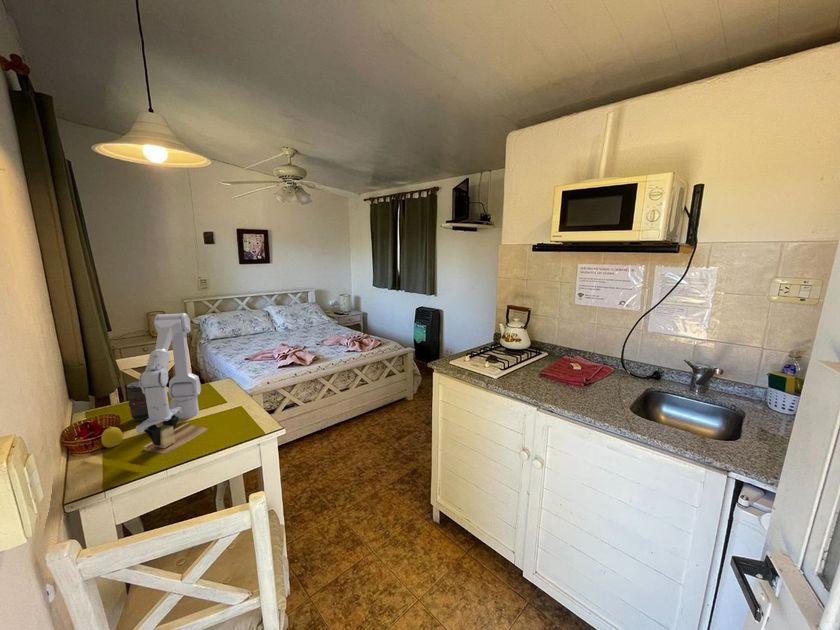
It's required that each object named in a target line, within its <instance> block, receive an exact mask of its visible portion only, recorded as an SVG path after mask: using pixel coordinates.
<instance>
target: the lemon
mask: <svg viewBox="0 0 840 630" xmlns="http://www.w3.org/2000/svg"><path fill="white" fill-rule="evenodd" d="M123 438H124V435H123V432H122V430H121V429H120V428H119V427H116V426H109V427H107V428H106V429H105V430H104V431H103V432H102V434H101V440H100V441H101V444H102V445H103V446H104V447H105V448H114V447H117V446H119V445H120V444H121V443H122V442H123V440H124V439H123Z"/></svg>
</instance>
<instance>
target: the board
mask: <svg viewBox="0 0 840 630" xmlns="http://www.w3.org/2000/svg"><path fill="white" fill-rule="evenodd" d="M209 429H210V428H209V427H203V426H198V425H191V422H186V423H184V424H182V425H180V426H178V427H177V428H176V427H175V429H174V436H175V442H174V443H173V444H171V445H169V446H168V447H166V448H160V447H155V446H153V443H152V441H151V442H149V443H146V444H145V445H143V446H142V448H143V451H147V452H151V453H153V452H154V453H156V454H157V453H158V454H161V455H162V454H163V455H168V454H171V453H172V452H173V451H175V450H177V449H178V448H180V447H181V446H184V445H185V444H187V443H189V441H192V440H193V439H195V438H196V437H198V436H200V435H202V434H203V433H205V432H206V431H208V430H209Z"/></svg>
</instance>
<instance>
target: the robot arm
mask: <svg viewBox="0 0 840 630" xmlns="http://www.w3.org/2000/svg"><path fill="white" fill-rule="evenodd" d="M190 319H191V318H190V316H189V315H188V314H187V313H186V312H183V313H165V314H164V313H163V314H162V313H158V314H156V315H155V317H154V320H153V325H154V327H155V330H156V333H157V336H156V342H155V349H154V350H153V351H151V352H150V353H149V356H148V360H147V362H146V367H145V370H144V371H143V372H141V373H140V375H139V378H138V381H139V385H140V387H141V388H142V391H143V394H145V396H146V402H147V408H148V414H149V418H148V419H147V420H145V421H144V422H140V424H138V425H136V426H135V430H136V431H135V432H136V433H146V435H148V437H149V438H150V439H151V442H153V444H154V445H157V446H159V445H161V440H160V430H161V427H157V426H158V424H160V423H162V424H163V425H169V426H173V429H176V425H177V424H178V421H179V419H182V420H183V419H190V418H194V417H196V416H198V415H199V414H200V409H199V401H198V396H199V395H200V393H201V391H202V384H201V382H200V378H199V375H196V374H194V373H192V372H191V368H190V367H191V366H190V356H189V348H188V338H187V334H189V333H190V332H191V320H190ZM170 346H172V353H173V365H174V373H175V375H174V376H173V377H172V378H171V379H170V380H169V370H168V367H169V362H170V359H171V354H170V352H169V349H170ZM167 384H168V391H167ZM168 395H169V397H170V398H171V400H170V402H169V399H168Z"/></svg>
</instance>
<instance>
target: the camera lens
mask: <svg viewBox="0 0 840 630" xmlns="http://www.w3.org/2000/svg"><path fill="white" fill-rule="evenodd" d="M126 394H127V399H128V407H129V411H130V414H131V418H132V419H133V421H134V422H135V423H143V422H144V421H145V420H147V419H148V418H149V414H148V408H147V402H146V396H145V394H143V391H142V388H141V387H140V385H139V380H138V381H133V382H131V383H129V384H127V385H126Z"/></svg>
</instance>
